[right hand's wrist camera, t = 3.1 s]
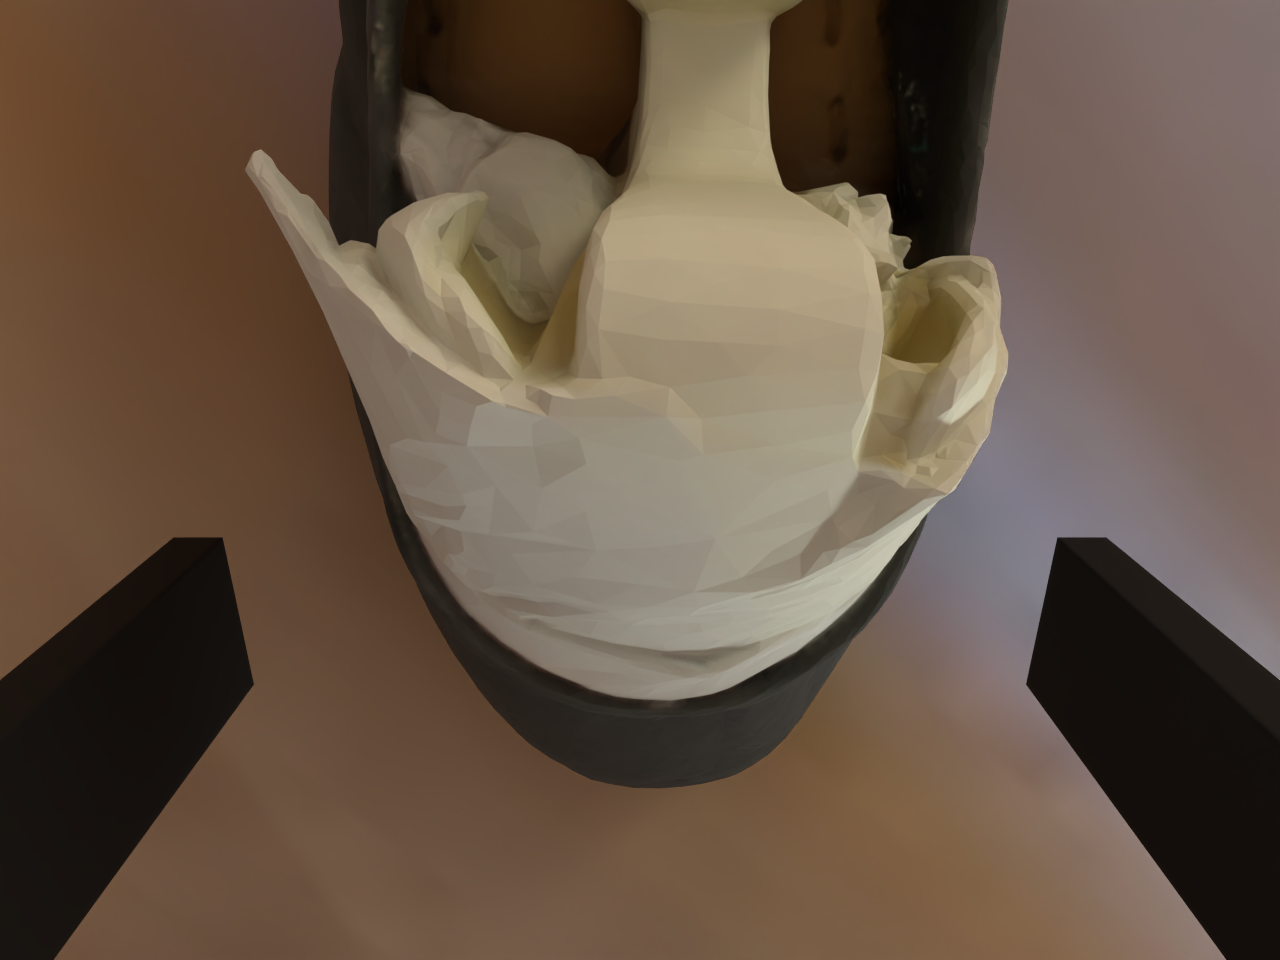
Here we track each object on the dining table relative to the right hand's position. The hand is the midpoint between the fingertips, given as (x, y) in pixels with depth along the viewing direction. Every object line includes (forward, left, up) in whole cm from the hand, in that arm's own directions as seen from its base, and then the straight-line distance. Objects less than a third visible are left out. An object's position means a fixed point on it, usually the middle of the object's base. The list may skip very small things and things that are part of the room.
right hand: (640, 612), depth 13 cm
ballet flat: (+6, +6, -2) cm, 8 cm away
